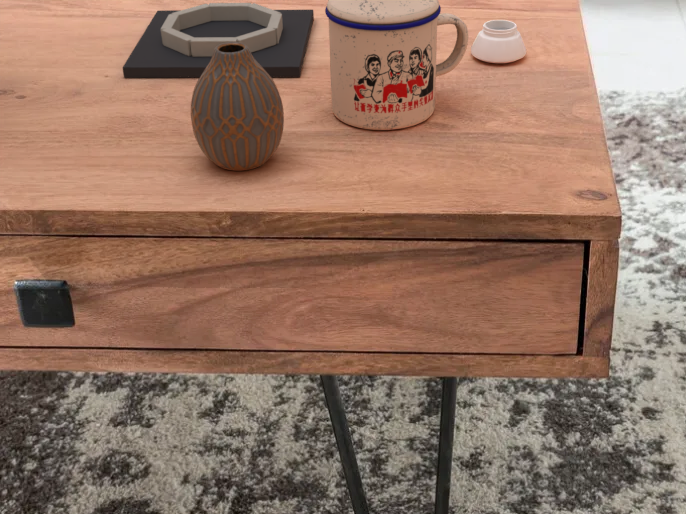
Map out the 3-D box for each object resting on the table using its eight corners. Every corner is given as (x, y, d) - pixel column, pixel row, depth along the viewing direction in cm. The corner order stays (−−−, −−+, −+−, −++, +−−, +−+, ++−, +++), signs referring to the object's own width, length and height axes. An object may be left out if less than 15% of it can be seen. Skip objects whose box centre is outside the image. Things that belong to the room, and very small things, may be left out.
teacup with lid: (351, 140, 83) (347, -10, 76) (314, 99, 90) (307, -42, 83) (487, 116, 86) (496, -30, 79) (442, 78, 93) (446, -59, 86)
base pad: (123, 78, 95) (119, 50, 94) (158, 20, 108) (155, -5, 106) (299, 77, 94) (298, 50, 93) (313, 19, 107) (312, -6, 106)
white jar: (522, 47, 99) (469, 47, 99) (525, 15, 98) (471, 16, 98) (527, 66, 95) (472, 66, 95) (530, 34, 93) (474, 34, 94)
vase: (221, 188, 77) (208, 72, 72) (181, 154, 82) (167, 43, 76) (302, 164, 80) (296, 51, 75) (260, 133, 85) (251, 25, 79)
